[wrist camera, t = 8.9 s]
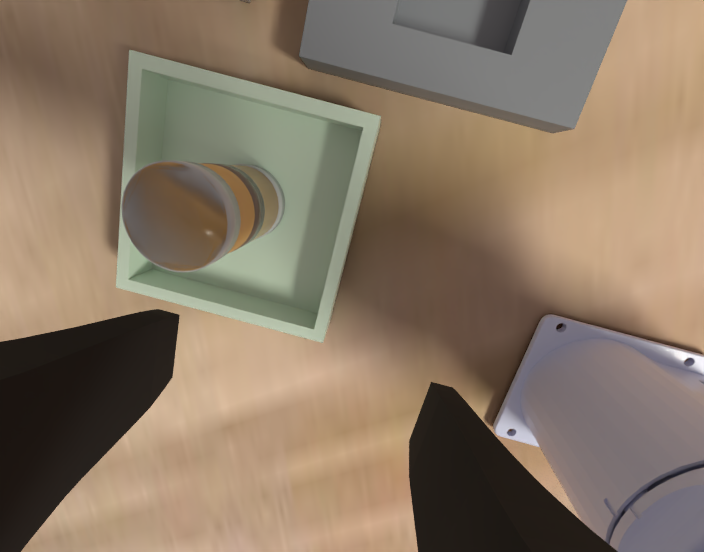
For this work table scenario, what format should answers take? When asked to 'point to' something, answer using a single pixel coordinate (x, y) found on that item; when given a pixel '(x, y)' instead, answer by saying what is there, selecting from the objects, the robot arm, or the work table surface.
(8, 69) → the work table surface
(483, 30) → the fuse block
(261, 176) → the fuse
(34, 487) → the robot arm
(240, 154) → the parts tray
